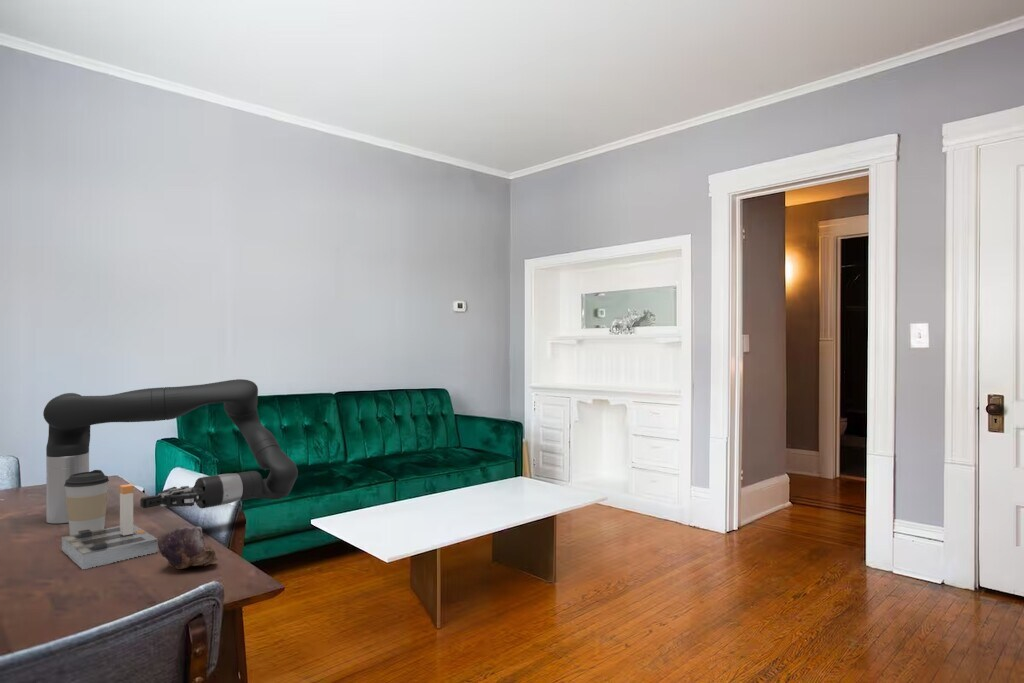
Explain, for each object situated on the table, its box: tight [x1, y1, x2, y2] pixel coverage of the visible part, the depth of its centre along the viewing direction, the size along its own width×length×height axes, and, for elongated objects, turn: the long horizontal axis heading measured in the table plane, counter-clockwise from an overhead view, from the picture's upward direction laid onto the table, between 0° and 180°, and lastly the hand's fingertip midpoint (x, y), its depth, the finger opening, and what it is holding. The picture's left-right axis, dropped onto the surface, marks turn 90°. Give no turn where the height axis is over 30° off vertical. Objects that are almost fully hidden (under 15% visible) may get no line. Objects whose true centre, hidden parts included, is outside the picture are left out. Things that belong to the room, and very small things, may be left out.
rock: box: [158, 525, 218, 570], centre depth 128 cm, size 12×9×10 cm
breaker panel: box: [61, 523, 159, 571], centre depth 138 cm, size 18×14×4 cm
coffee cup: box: [64, 469, 110, 535], centre depth 151 cm, size 9×9×15 cm
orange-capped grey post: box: [119, 483, 134, 536], centre depth 140 cm, size 2×2×11 cm
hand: (141, 503), depth 142 cm, fingers closed
